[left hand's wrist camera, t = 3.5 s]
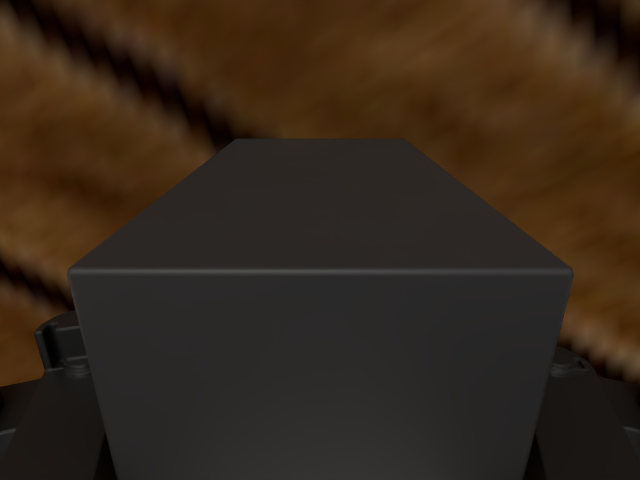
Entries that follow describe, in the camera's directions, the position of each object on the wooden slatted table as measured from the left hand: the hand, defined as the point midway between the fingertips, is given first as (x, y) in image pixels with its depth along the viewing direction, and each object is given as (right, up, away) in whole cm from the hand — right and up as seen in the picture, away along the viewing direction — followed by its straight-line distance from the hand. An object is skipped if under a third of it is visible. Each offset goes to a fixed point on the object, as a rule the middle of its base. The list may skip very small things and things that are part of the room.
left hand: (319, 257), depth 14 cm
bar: (0, -7, +3) cm, 8 cm away
